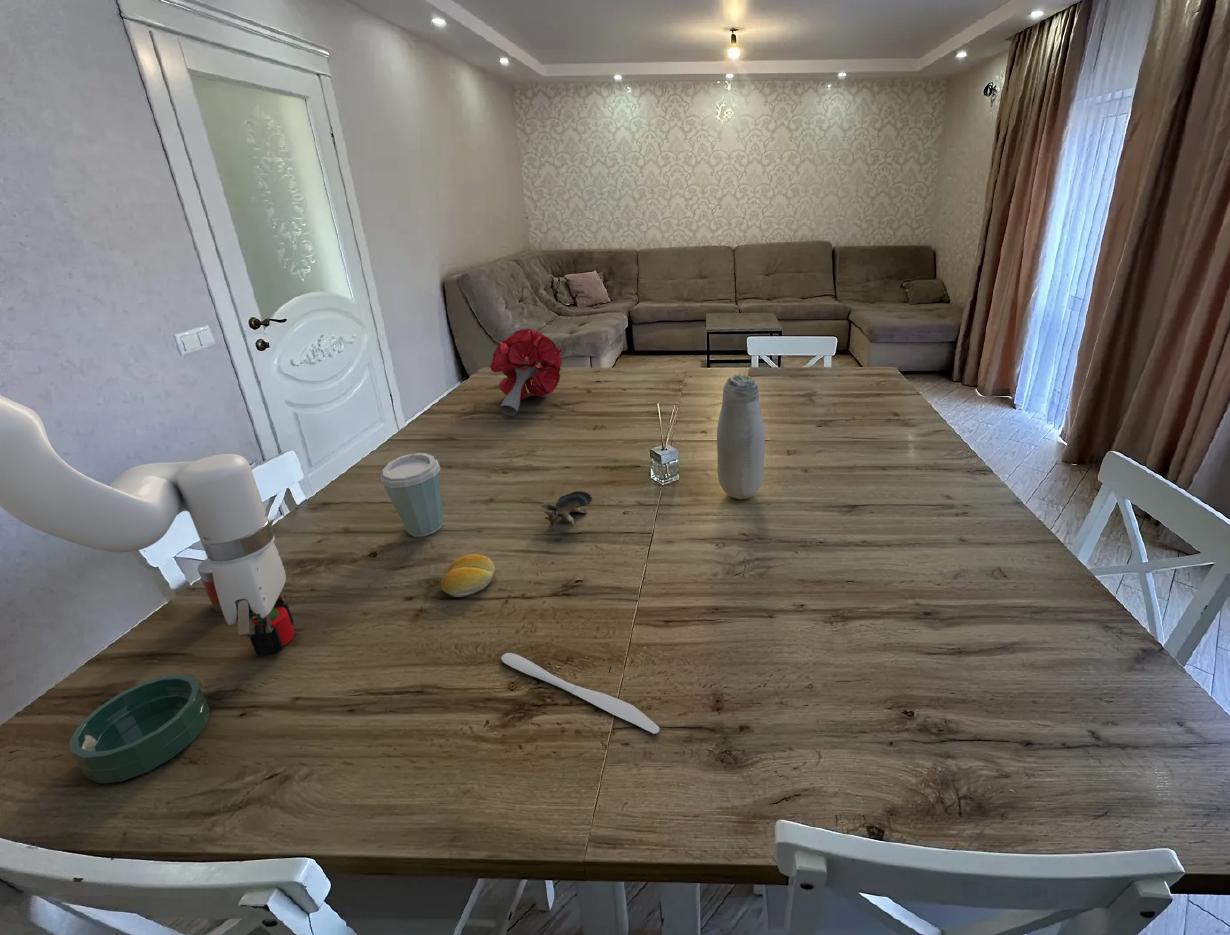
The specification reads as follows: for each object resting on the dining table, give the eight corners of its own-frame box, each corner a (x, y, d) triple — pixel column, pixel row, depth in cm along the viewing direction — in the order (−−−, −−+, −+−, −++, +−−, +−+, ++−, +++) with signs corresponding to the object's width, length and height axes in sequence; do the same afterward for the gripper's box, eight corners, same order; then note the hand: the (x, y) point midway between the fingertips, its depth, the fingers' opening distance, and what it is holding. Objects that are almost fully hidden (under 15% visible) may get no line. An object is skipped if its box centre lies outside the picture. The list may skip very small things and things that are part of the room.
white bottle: (771, 499, 122) (775, 379, 112) (730, 510, 118) (730, 387, 108) (749, 479, 131) (750, 366, 120) (710, 489, 126) (708, 373, 116)
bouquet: (556, 431, 174) (578, 362, 192) (526, 382, 156) (554, 310, 174) (493, 432, 177) (521, 364, 196) (457, 384, 159) (491, 314, 178)
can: (204, 608, 92) (186, 569, 89) (244, 583, 98) (229, 545, 95) (231, 616, 90) (215, 576, 87) (271, 590, 96) (257, 552, 93)
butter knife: (513, 645, 83) (497, 658, 81) (666, 720, 71) (653, 738, 69) (513, 648, 83) (498, 661, 81) (666, 723, 72) (653, 742, 69)
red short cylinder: (250, 647, 84) (240, 621, 82) (280, 626, 88) (271, 601, 86) (272, 654, 82) (262, 628, 81) (302, 632, 87) (293, 607, 85)
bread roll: (435, 600, 93) (430, 581, 92) (456, 566, 102) (452, 548, 100) (484, 598, 94) (480, 579, 92) (501, 565, 102) (498, 547, 100)
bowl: (64, 770, 66) (46, 741, 65) (173, 693, 77) (160, 666, 75) (127, 798, 63) (109, 768, 61) (232, 714, 73) (220, 686, 72)
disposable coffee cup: (448, 538, 110) (434, 472, 104) (388, 548, 107) (370, 480, 101) (455, 510, 119) (442, 448, 114) (400, 519, 116) (384, 455, 111)
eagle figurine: (567, 533, 109) (600, 506, 115) (546, 503, 108) (580, 478, 114) (552, 537, 115) (584, 511, 121) (532, 509, 114) (565, 485, 120)
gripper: (230, 514, 85) (265, 609, 91) (177, 582, 70) (224, 689, 76) (288, 504, 87) (318, 597, 94) (249, 568, 72) (288, 673, 79)
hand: (275, 638), depth 85 cm, fingers closed on red short cylinder, 4 cm apart
